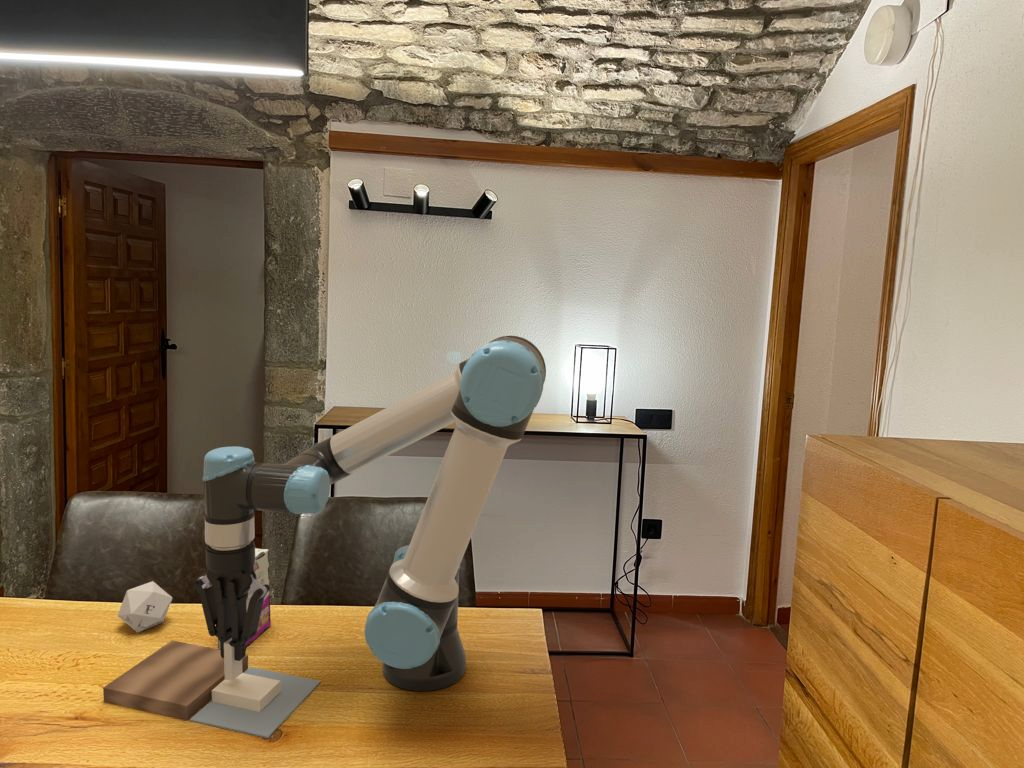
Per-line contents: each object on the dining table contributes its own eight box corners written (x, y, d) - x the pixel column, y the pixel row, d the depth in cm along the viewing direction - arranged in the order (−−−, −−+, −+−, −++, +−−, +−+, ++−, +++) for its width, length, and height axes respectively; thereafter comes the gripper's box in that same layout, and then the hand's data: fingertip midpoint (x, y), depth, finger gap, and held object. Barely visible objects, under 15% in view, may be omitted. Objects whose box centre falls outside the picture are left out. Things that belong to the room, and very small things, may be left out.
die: (109, 637, 138) (125, 607, 134) (119, 598, 145) (134, 568, 141) (156, 643, 142) (172, 615, 138) (163, 605, 149) (179, 576, 145)
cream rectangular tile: (280, 691, 122) (280, 680, 121) (259, 711, 116) (259, 700, 115) (234, 682, 124) (234, 671, 123) (211, 701, 118) (211, 690, 118)
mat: (320, 682, 125) (320, 680, 125) (267, 738, 110) (267, 736, 110) (250, 668, 129) (250, 666, 129) (189, 720, 113) (189, 719, 113)
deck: (248, 668, 129) (247, 655, 128) (187, 720, 113) (186, 705, 113) (172, 652, 133) (172, 640, 132) (103, 701, 117) (103, 687, 117)
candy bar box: (249, 622, 145) (247, 545, 142) (271, 626, 144) (270, 548, 141) (215, 650, 134) (213, 567, 132) (239, 654, 133) (238, 571, 131)
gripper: (278, 539, 118) (280, 670, 122) (211, 529, 121) (214, 658, 125) (251, 555, 111) (254, 695, 115) (180, 545, 114) (185, 681, 118)
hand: (233, 675), depth 120 cm, fingers closed
